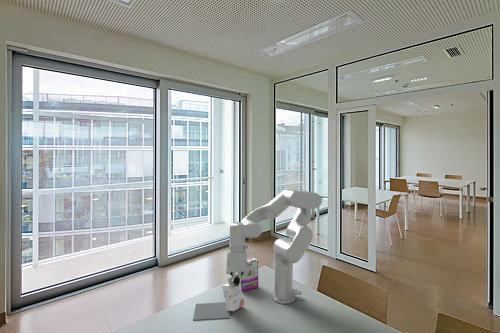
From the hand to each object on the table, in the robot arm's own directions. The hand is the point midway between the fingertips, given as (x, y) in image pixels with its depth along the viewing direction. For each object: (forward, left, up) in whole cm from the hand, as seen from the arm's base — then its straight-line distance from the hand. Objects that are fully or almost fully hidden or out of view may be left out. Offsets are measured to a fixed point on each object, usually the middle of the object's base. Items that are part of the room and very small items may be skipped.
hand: (236, 285), depth 125 cm
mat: (+12, 0, -12) cm, 17 cm away
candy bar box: (-8, -21, -13) cm, 25 cm away
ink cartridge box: (0, 0, -12) cm, 12 cm away
